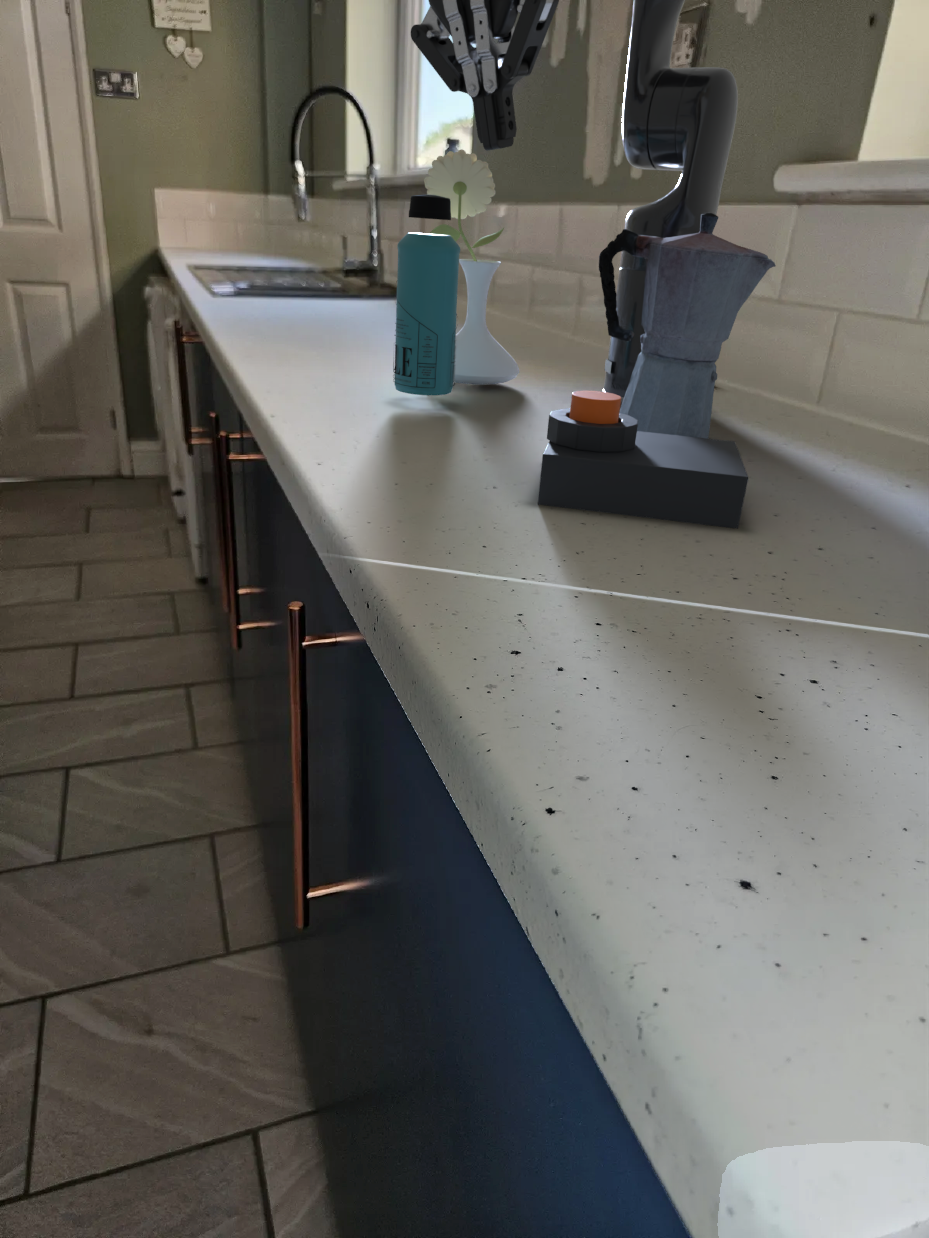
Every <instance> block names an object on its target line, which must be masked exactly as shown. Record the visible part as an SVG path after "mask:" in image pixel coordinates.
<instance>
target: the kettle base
mask: <svg viewBox="0 0 929 1238" xmlns="http://www.w3.org/2000/svg"><path fill="white" fill-rule="evenodd" d="M570 408H571V407H565V408H559V409H554V410H551V411H550V413H549V415H548V422H547V430H546V431H547V433H546V440H548V443H547V445H546V447H545V449H544V451H543V453H542V458H541V469H540V479H539V485H538V486H539V487H538V496H537V497H538V498H537V505H539V506H546V507H547V506H548V507H556V508H564V509H570V510H571V509H573V510H579V511H589V512H596V513H604V514H605V513H606V514H612V515H613V514H614V515H620V516H621V515H622V516H630V517H639V518H647V519H655V520H661V521H662V520H663V521H672V522H679V523H688V524H695V525H705V526H710V527H711V526H713V527H719V528H720V527H722V528H727V529H739V525H740V520H741V516H742V511H743V507H744V502H745V496H746V493H747V492H746V491H747V486H748V482H749V475H748V472H747V469H746V467H745V465H744V461H743V459H742V456H741V454H740V451H739V449H738V446H737V444H736V443H737V442H736V441H735V440H725V439H717V438H708V439H707V438H698V437H688V436H679V435H670V434H660V433H651V432H641V431H637V427H638V420H637V419H635V418H633V417H631V416H629V415H626V414H621V413H619V419H618V423H615V424H596V423H587V422H581V421H577V420H572V419H570V418H569V417H570Z"/></svg>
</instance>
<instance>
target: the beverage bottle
mask: <svg viewBox="0 0 929 1238" xmlns="http://www.w3.org/2000/svg"><path fill="white" fill-rule="evenodd" d="M408 218H414V219H426V220H428V219H429V220H441V221H451V220H452V217H451V201H450V199H449V198H445V197H442V196H437V195H427V194H416V195H414V194H413V195H411V196H410V200H409V208H408ZM396 245H397V246H396V247H397V280H396V283H395V284H396V290H394V291H395V293H396V295H395V296H394V298H395V299H396V300H395V301H394V303H395V306H396V307H395V322H394V324H395V330H394V332H395V334H394V336H395V341H394V361H393V366H392V367H393V368H392V370H393V380H392V382H393V383H394V386H395V390H396V391H398V392H401V393H404V394H409V395H417V396H431V397H432V396H446V395H449V394H451V393H452V391H453V388H454V386H455V385H456V384H455V383H456V382H454V381H455V380H454V379H455V378H454V377H455V375H454V374H455V373H454V372H455V370H454V366H456V365H454V364H455V362H456V361H455V358H456V357H455V349H456V348H455V347H456V346H455V342H456V341H457V340H455V338H456V334H457V327H458V324H459V323H457V319H459V317H458V314H457V308H458V307H457V306H458V290H459V289H458V288H459V269H460V263H459V259H460V253H461V247H460V245H459V244H458V242H457V241H455V240H454V239H453V238H452V237H451V236H450V235H439V234H429V233H425V232H424V233H423V232H407V233H406V234H405V235H404V236H403V237H402V238H401V239H400V240H399V242H398V243H397V244H396ZM455 369H456V368H455ZM453 380H454V381H453Z"/></svg>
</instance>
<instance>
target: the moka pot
mask: <svg viewBox="0 0 929 1238" xmlns="http://www.w3.org/2000/svg"><path fill="white" fill-rule="evenodd" d="M718 220H719V216H718V215H717V214H716V215H715V214H713V213H705V214H702V215H701V222H700V232H699V233H695V234H688V235H681V236H675V237H668V238H660V237H653V236H643V235H638V234H636V233H635V232H632V231H630V230H627V229H625V228H623V229H622V231H621V232H620V233H617V234H616V236H615V238H614V240H611V241H609V242H608V244H607V246H606V247H605V248H604V249H602V250H601V252H600V253H599V256H598V271H599V277H600V282H601V289H602V293H603V304H604V308H605V317H606V325H607V333H608V336H610V337H611V336H612V337H614V338H618V339H620V340H624V341H631V339H632V338H633V336H634V335H635V334H634V333H633V331H631V330H624V329H622V328H621V327H620V326H619V318H618V315H617V311H616V308H617V301H616V296H617V295H616V293H617V290H616V289H617V287H616V283H615V282H616V281H615V267H614V263H613V259H614V258H615V256H616V255H617V254H619V253H622V251H626V252H628V253H629V254H631V255H633V256H636V257H643V258H645V259H646V272H645V286H644V299H643V312H642V323H641V325H642V326H643V328H644V331H645V334H642V335H641V336H640V342H641V353H640V354H639V355H638V358H637V361H636V364H635V367H634V370H633V372H632V375H631V379H630V382H629V385H628V388H627V391H626V394H625V397H624V400H623V403H622V405H620V412H619V413H621V414H626V415H629V416H631V417H633V418H635V419H637V420H638V427H637V431H641V432H651V433H660V434H670V435H679V436H688V437H698V438H707V439H709V435H710V427H711V420H712V410H713V401H714V392H715V384H716V381H717V380H718V373H717V365H716V364H715V363H716V362H717V361H718V360H719V358H720V354H721V350H722V345H723V343H724V342H726V341H728V339H729V338H730V336H731V332H732V330H733V327H734V323H735V322H736V319H737V316H738V313H739V312H740V310H741V308H742V307H743V305H744V304H745V303H746V302H747V300H748V299H749V297H750V296H751V295H752V293H753V292H754V290H755V289H756V287H757V286H758V284H759V283H760V282H761V281H762V279H763V278H764V277H765V275H767V272H768V271H769V270H770V269H773V268H774V267H775V268H776V267H777V265H776V263H775V262H774V261H773V259H772V258H769V257H768V255H767V254H766V253H763V252H761V251H758V250H755V249H752V248H749V247H744V246H742V245H738V244H735V243H733V242H731V241H728V240H727V239H724V238H722V237H719V236H717V235H715V234H713V233H714V230H715V227H716V225H717V223H718Z"/></svg>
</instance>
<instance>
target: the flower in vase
mask: <svg viewBox="0 0 929 1238" xmlns="http://www.w3.org/2000/svg"><path fill="white" fill-rule="evenodd" d="M431 166H432V167H430V168H429V169H428V170H427V174H428V176H425V177H424V178H423V182H424V188H425V189H426V195H437V196H442V197H445V198H449V199H450V201H451V219H452V218H453V219H456V220H457V226H458V229H456V228H454V227H453V226H451V225H449V224H444V223H442V224H440V225H438V226H436V227H435V228H433V229H432V230H431V231H430V232H429V233H428V234H439V235H450V236H451V237H452V238H453V239H454V240H455V241H456V242H457V241H458V240H459V239H460V238H462V240H463V242H464V244H465V246H466V248H467V250H468V251H469V253H470V255H471V257H472V258H459V266H460V267H461V268H462V272H463V273H464V277H465V284H466V293H467V294H466V295H467V296H466V297H467V303H466V305H467V306H466V307H467V308H466V317H465V320H464V324H463V326H462V328H461V329H460V330H459V331H458V332H457V333H456V338H455V340H457V341H456V342H455V346H456V347H455V348H456V349H455V357H456V358H455V361H456V362H455V364H454V365H456V366H454V370H455V372H454V373H455V374H454V375H455V377H454V378H455V379H454V380H455V381H454V380H453V381H454V383H458V384H464V385H476V386H477V385H480V386H481V385H482V386H483V385H487V386H488V385H496V384H503V383H507V382H509V381H511V380H514V379H516V378H517V377H518V375H519V374H520V368H519V364H518V363H517V362H516V360H515V359H514V357H513V356H512V355H511V354H510V353H509V351H507V350H506V349H505V348H504V347H503V346H502V345H501V344H500V343H499V342H498V341H497V339H496V338H495V337H494V336H493V335H492V334H491V332H490V330H489V328H488V325H487V319H486V318H487V317H486V316H487V302H488V297H489V296H488V295H489V289H490V286H491V282H492V280H493V277H494V275H495V274H496V271H497V270H498V268H500V266H501V264H502V262H501V261H497V260H491V259H477V257H476V254H475V252H474V250H473V249H475V248H479V247H483V246H485V245H488V244H490V243H493V242H494V241H495V240H497V239H498V238H499V237H500V236H501V235H502V233H503V231H504V230H505V227H502V228H501V229H500V230H498V231H496V232H494V233H492V234H488V235H485V236H482V237H480V238H479V239H478V240H477V241H476V242H475V243H474V244H473V245H472V246H471V245H470V243H469V242H468V240H467V236H465V234H464V231H463V228H462V220H465V219H467V217H469V218H470V217H471V218H473V217H476V215H480V214H481V213H486V212H487V210H488V206H487V205H489V204H492V201H493V200H492V197H495V195H496V193H497V192H496V189H495V188H496V183H495V182H494V181H495V180H494V178H493V172H492V171H491V169H490V168H489V166H490V165H489V163H488V162H487V161H483V160H481V159H478V156H477V154H476V153H473V152H472V153H467V152H466V150H464V149H463V148H462V149H458V151H455V152H454V151H453V150H451V151H450V150H449V151H448V152H447V153H446V154H444V155H438V156H437V157H436V159H434V160H432V161H431ZM455 368H456V369H455Z"/></svg>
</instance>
